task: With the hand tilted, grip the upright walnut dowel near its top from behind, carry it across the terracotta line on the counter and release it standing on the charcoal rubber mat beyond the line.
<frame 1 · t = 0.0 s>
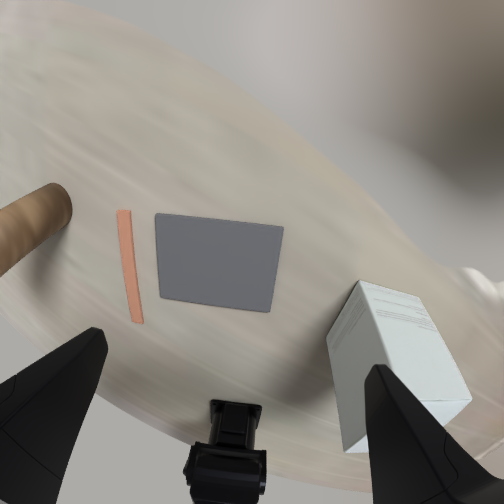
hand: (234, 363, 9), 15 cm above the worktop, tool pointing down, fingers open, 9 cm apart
pin: (55, 205, 23), on the worktop
supplement box: (372, 316, 26), on the worktop
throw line: (130, 272, 25), on the worktop
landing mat: (215, 264, 24), on the worktop
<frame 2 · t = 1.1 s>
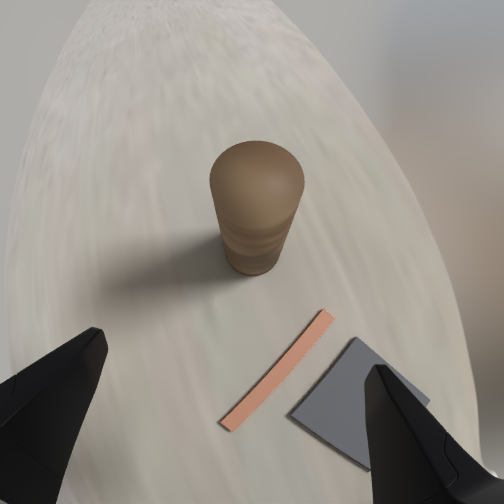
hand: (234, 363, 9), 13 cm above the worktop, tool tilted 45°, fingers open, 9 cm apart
pin: (252, 249, 24), on the worktop
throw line: (278, 372, 21), on the worktop
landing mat: (366, 409, 20), on the worktop
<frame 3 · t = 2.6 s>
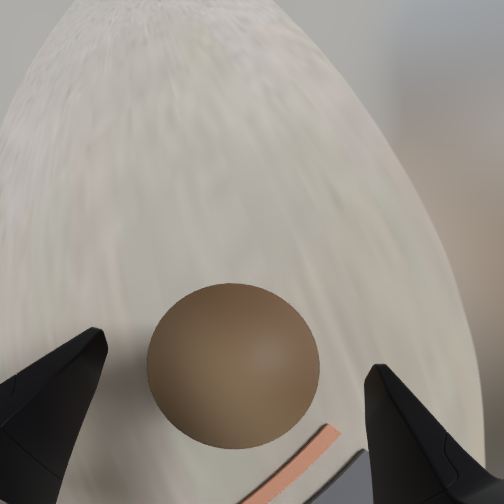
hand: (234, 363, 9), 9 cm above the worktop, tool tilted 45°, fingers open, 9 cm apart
pin: (240, 353, 17), on the worktop
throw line: (271, 488, 14), on the worktop
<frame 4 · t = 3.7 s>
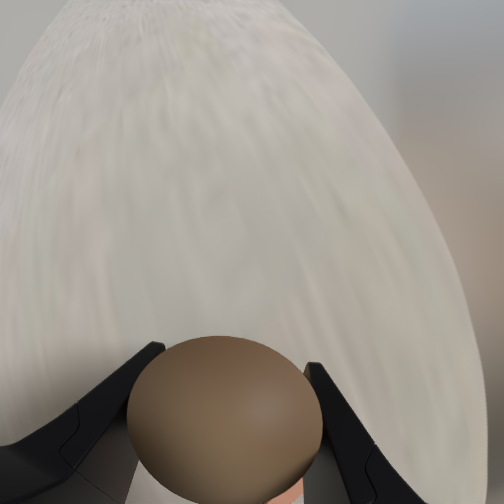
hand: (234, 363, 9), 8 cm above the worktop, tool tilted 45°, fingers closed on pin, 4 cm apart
pin: (237, 375, 16), on the worktop, touching gripper
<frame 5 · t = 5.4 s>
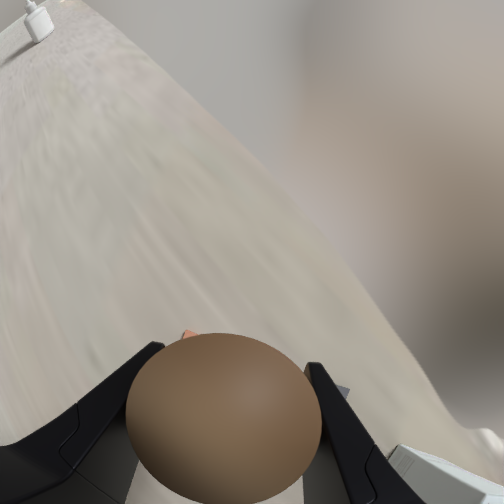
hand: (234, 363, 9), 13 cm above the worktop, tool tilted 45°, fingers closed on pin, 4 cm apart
eye dropper bottle: (45, 36, 37), on the worktop
pin: (237, 374, 16), point 5 cm above the worktop, touching gripper
supplement box: (401, 481, 18), on the worktop
when the fingers open (9 cm above the worktop, at t = 7.2 s): pin stays where it is, resting on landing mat.
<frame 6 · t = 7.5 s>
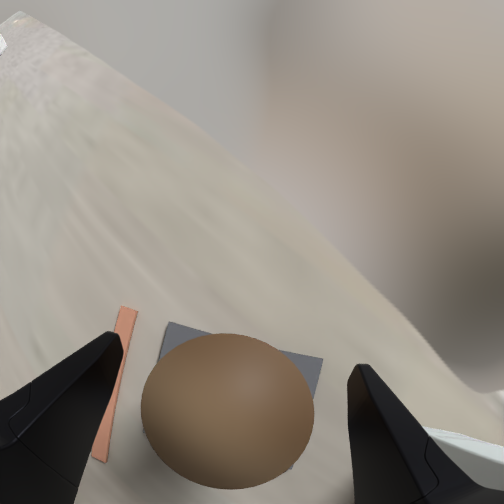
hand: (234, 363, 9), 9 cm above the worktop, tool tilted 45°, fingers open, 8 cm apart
pin: (236, 373, 17), resting on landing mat
supplement box: (411, 467, 15), on the worktop
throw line: (110, 390, 16), on the worktop
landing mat: (230, 401, 17), on the worktop
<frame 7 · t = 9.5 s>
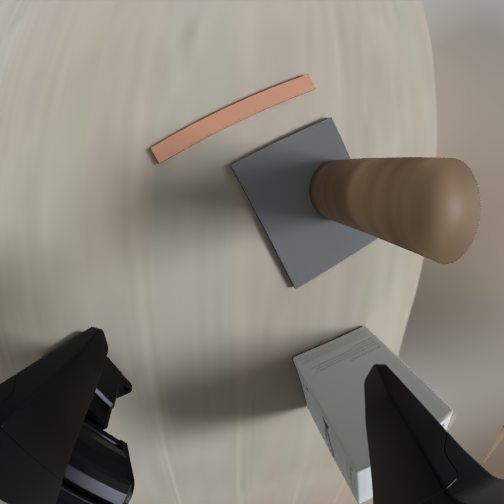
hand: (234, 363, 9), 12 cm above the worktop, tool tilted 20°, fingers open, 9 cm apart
pin: (337, 190, 20), resting on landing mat
supplement box: (333, 367, 25), on the worktop
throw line: (236, 113, 18), on the worktop
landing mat: (313, 202, 20), on the worktop
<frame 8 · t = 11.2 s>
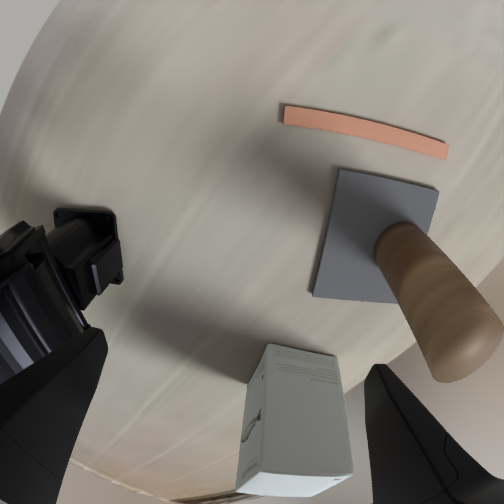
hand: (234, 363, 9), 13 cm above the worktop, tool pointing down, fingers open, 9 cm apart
pin: (400, 248, 20), resting on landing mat
supplement box: (290, 370, 28), on the worktop
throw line: (374, 131, 17), on the worktop
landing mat: (375, 243, 20), on the worktop
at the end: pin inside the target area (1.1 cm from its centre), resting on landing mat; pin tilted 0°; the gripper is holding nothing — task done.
